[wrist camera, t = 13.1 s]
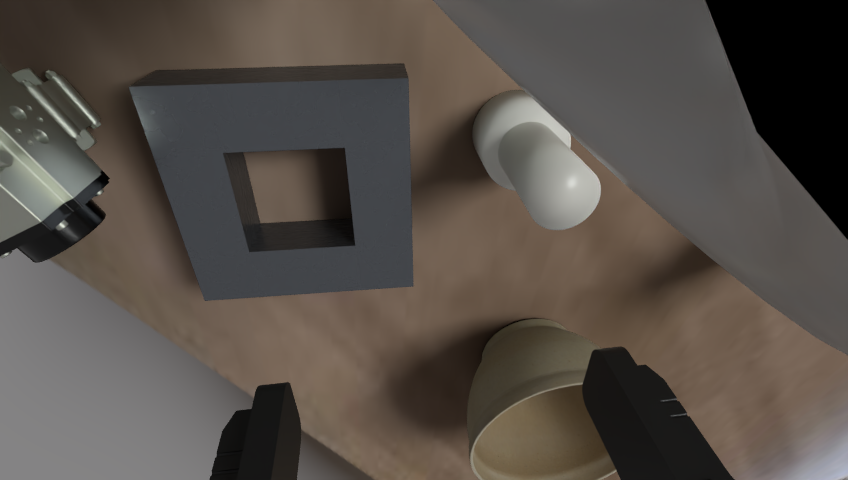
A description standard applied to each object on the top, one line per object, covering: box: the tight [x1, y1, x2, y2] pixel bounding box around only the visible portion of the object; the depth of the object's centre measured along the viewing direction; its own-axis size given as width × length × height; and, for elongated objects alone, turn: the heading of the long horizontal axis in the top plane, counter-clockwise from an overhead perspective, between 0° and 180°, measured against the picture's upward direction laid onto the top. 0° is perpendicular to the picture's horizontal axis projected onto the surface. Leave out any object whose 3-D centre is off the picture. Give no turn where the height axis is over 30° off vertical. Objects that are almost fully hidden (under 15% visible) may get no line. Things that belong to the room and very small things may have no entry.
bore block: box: [129, 64, 413, 301], centre depth 32 cm, size 16×16×4 cm
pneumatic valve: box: [0, 63, 110, 262], centre depth 25 cm, size 6×12×12 cm, turn 24°
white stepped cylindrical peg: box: [472, 90, 601, 230], centre depth 29 cm, size 6×6×11 cm
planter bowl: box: [467, 319, 617, 480], centre depth 43 cm, size 16×16×11 cm
